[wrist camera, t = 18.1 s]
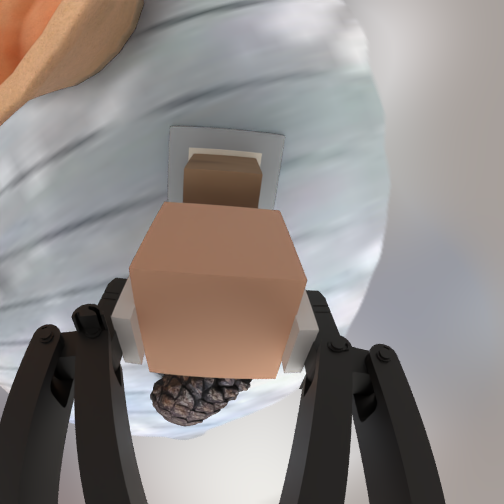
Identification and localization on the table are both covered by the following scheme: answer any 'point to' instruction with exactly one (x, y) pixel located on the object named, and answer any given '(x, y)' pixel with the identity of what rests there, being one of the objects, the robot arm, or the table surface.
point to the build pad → (225, 143)
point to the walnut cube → (222, 180)
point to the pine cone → (194, 397)
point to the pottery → (58, 44)
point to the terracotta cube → (216, 291)
